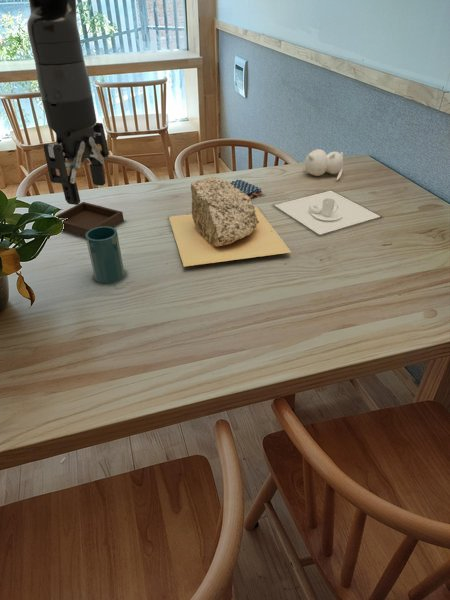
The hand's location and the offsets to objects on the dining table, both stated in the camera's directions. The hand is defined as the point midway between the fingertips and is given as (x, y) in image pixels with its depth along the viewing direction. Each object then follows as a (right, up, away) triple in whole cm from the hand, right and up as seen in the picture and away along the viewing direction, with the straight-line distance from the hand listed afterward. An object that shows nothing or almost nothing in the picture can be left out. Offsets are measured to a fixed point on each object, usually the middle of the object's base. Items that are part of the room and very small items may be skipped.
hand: (87, 193), depth 78 cm
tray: (-11, +1, +37) cm, 38 cm away
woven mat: (+28, +12, +51) cm, 60 cm away
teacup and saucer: (+51, +5, +41) cm, 66 cm away
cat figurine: (+55, +20, +62) cm, 85 cm away
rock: (+24, -3, +31) cm, 39 cm away
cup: (-1, -13, +17) cm, 22 cm away
